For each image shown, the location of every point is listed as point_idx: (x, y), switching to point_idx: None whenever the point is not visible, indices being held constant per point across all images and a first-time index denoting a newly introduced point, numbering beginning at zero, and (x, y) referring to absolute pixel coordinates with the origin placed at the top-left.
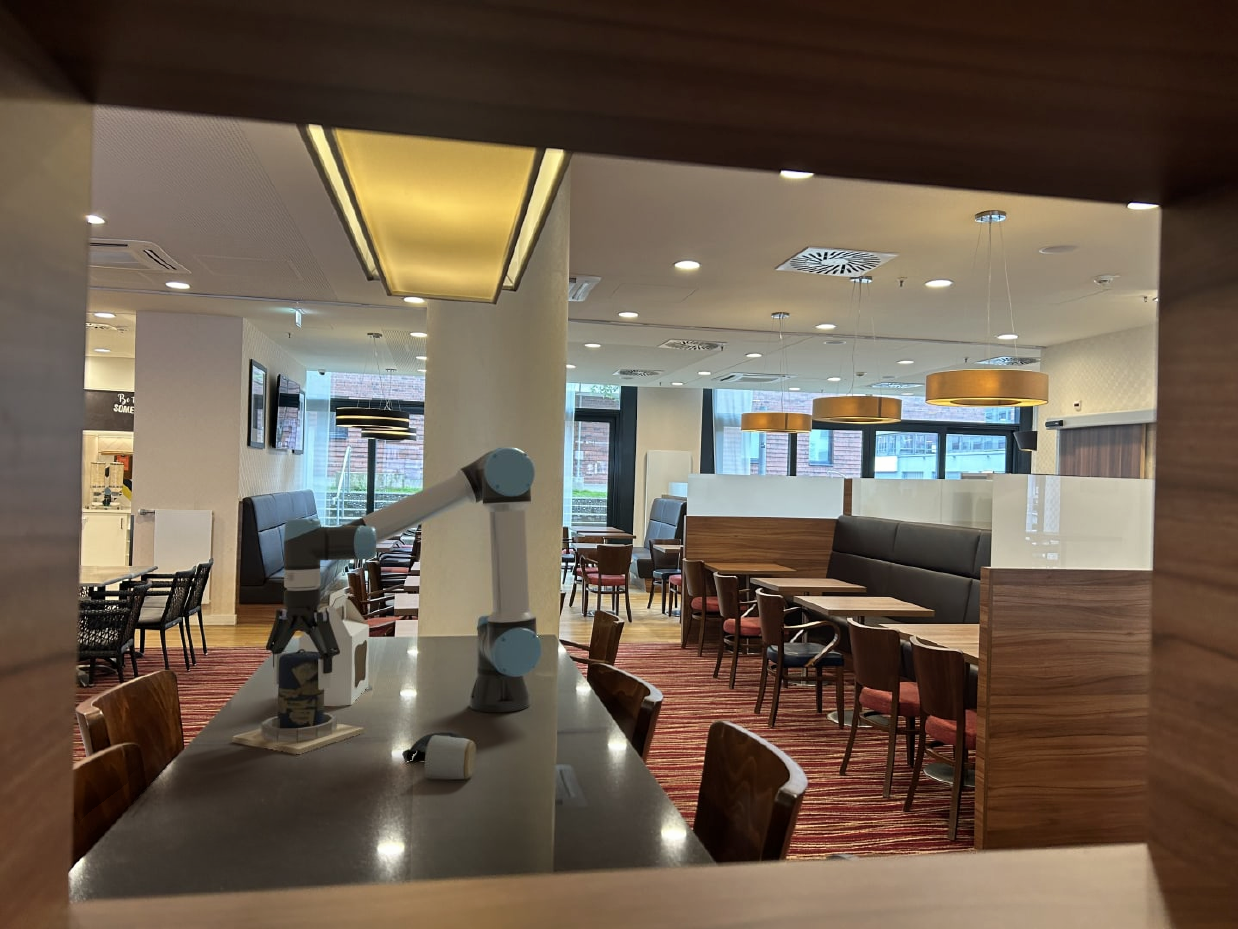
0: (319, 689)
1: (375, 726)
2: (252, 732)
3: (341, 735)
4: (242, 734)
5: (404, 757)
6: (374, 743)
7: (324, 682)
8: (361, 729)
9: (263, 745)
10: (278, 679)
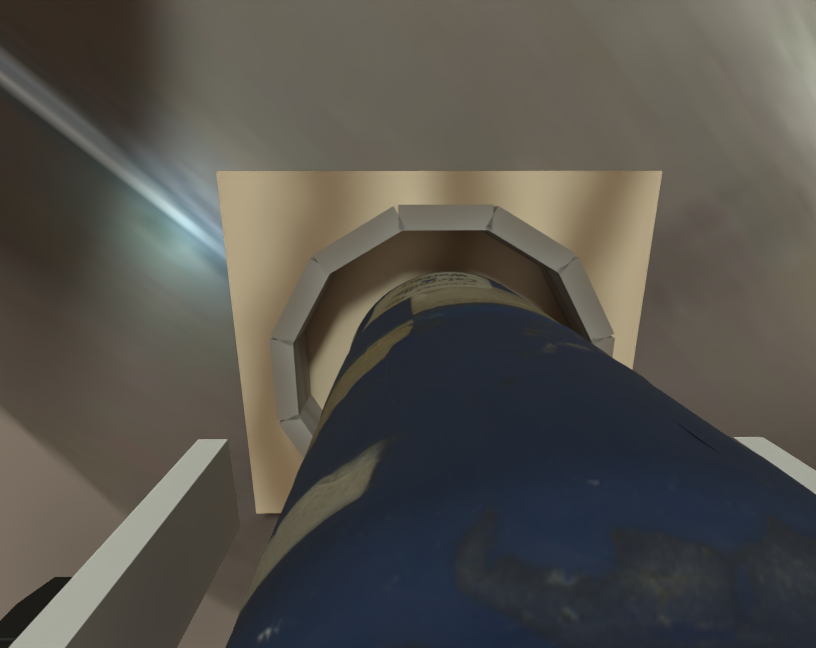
0: None
1: (619, 34)
2: (269, 449)
3: (640, 312)
4: (261, 481)
5: None
6: (779, 268)
7: None
8: (657, 187)
9: None
10: (221, 539)
